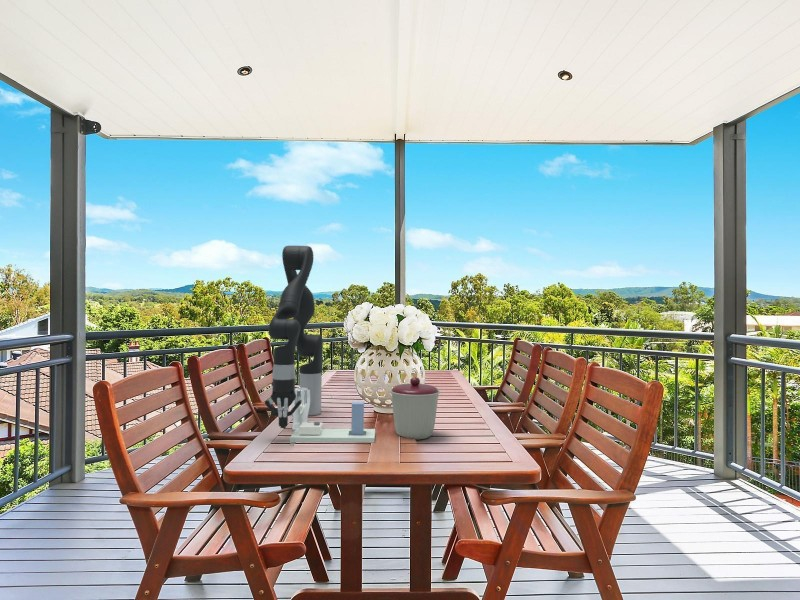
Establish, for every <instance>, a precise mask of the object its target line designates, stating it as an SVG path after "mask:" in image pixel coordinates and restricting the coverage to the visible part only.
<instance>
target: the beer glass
mask: <svg viewBox="0 0 800 600" xmlns="http://www.w3.org/2000/svg"><path fill="white" fill-rule="evenodd" d="M295 394H296V398H298V399H299V400H302V403H301V404H300V405H299V407H298V408H297V409H296V410H295V412H294V413H293V414H292V418H293V419H292V427H291V430H292V431H294V430H296V428H299V427H300V425H301V424H302V422H308V418H309V415H308V412H309V407H310V389H309V388H305V387H299V386H297V387H295ZM294 402H295V400H294V401H293V402H292V404H291V405H290V406H291V409H292V408H293V407H294V406H295V404H294Z"/></svg>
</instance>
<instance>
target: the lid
mask: <svg viewBox="0 0 800 600" xmlns="http://www.w3.org/2000/svg"><path fill="white" fill-rule="evenodd" d="M322 429H323V422H320V421H313V422H311V421H310V422H302V424H301V425H300V427H299V435H320V433H321V431H322Z"/></svg>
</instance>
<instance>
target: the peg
mask: <svg viewBox="0 0 800 600" xmlns="http://www.w3.org/2000/svg"><path fill="white" fill-rule="evenodd" d="M364 414H365V402H364V401H352V402H351V428H350V429H351V435H358V436H363V435H364V429H365V427H364V424H365V423H364V422H365V420H364V418H365V415H364Z"/></svg>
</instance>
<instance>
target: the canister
mask: <svg viewBox="0 0 800 600" xmlns="http://www.w3.org/2000/svg"><path fill="white" fill-rule="evenodd" d="M409 382H410V383H403V384H402V383H401V384H397V385H395V386H393V387H392V388H390V389H389V393H391V402H392V403H391V404H392V414H393V423H394V424H393V425H394V431H395V433H396V435H398V436H399V437H402V438H407V439H415V440H419V441H420V440H425V439H428V438H430V437H432V435H433V433H434V430H435V424H436V418H437V411H438V410H437V409H438V402H439V394H441V390H440V389H438V387H436V386H434V385H431V384H425V383H424V384H423V383H421V379H420V378H419V377H411V379H410V380H409Z"/></svg>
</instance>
